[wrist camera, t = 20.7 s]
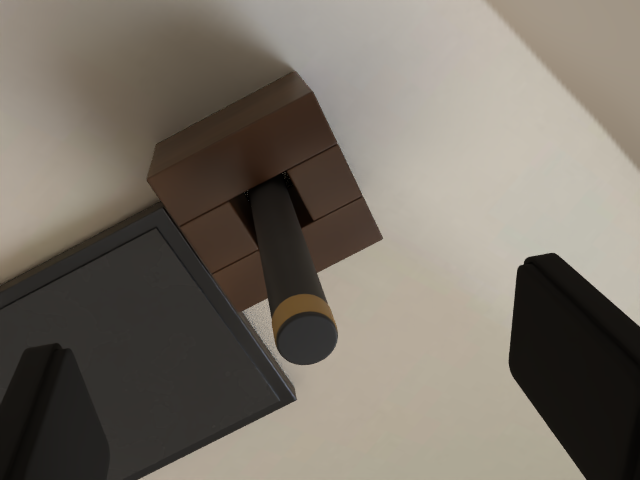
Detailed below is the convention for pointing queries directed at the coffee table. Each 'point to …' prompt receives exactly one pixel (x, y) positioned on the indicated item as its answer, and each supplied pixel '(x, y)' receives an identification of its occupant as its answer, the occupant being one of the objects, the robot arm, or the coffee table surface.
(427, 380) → the coffee table surface
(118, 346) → the tablet
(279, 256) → the stylus
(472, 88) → the coffee table surface
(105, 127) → the coffee table surface
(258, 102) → the holder
